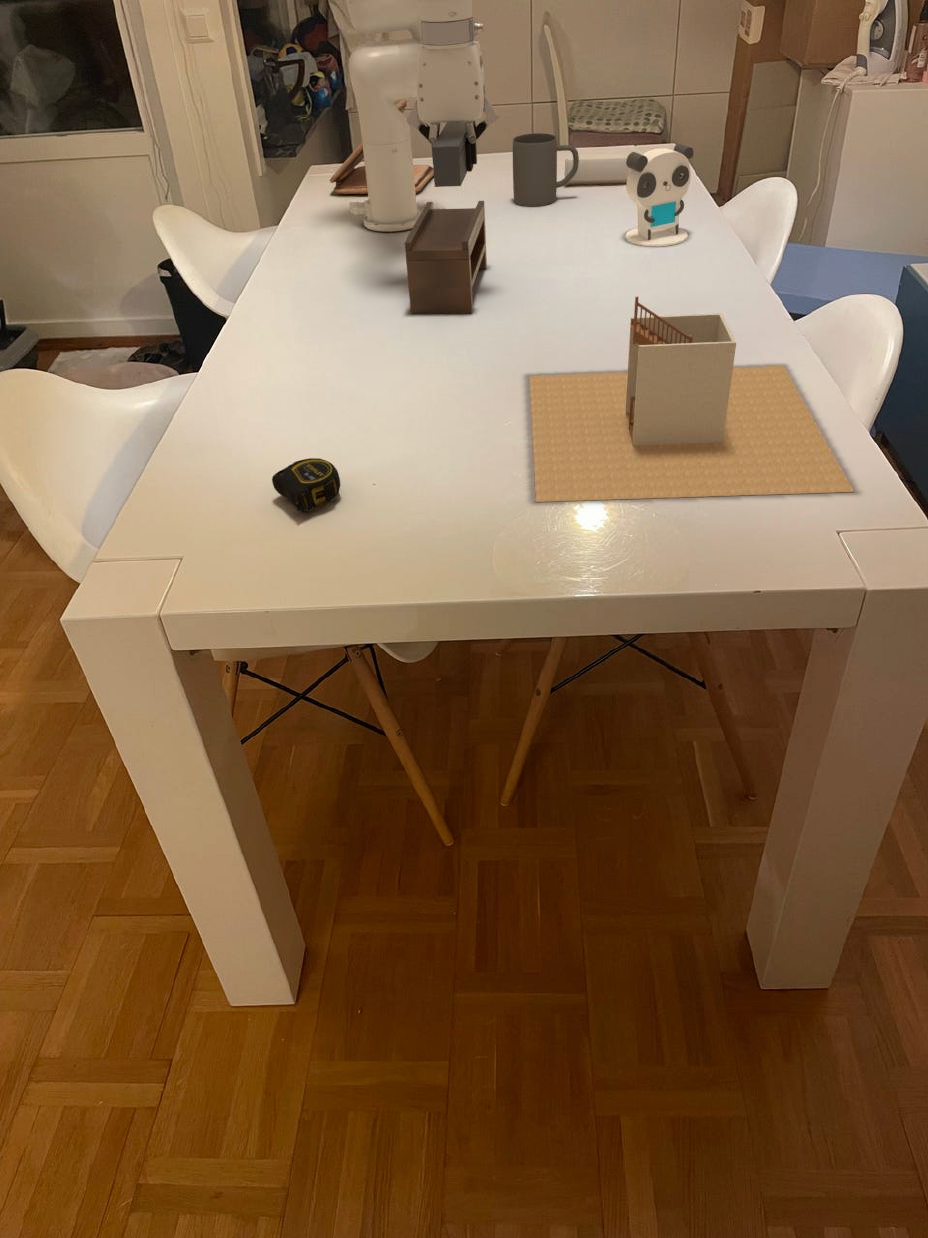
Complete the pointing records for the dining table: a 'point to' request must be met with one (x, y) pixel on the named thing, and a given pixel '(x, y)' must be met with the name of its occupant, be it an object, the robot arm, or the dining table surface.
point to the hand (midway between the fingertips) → (455, 168)
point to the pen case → (450, 155)
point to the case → (355, 178)
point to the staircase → (677, 423)
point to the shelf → (445, 259)
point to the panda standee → (658, 194)
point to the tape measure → (308, 483)
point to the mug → (538, 168)
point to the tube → (598, 171)
